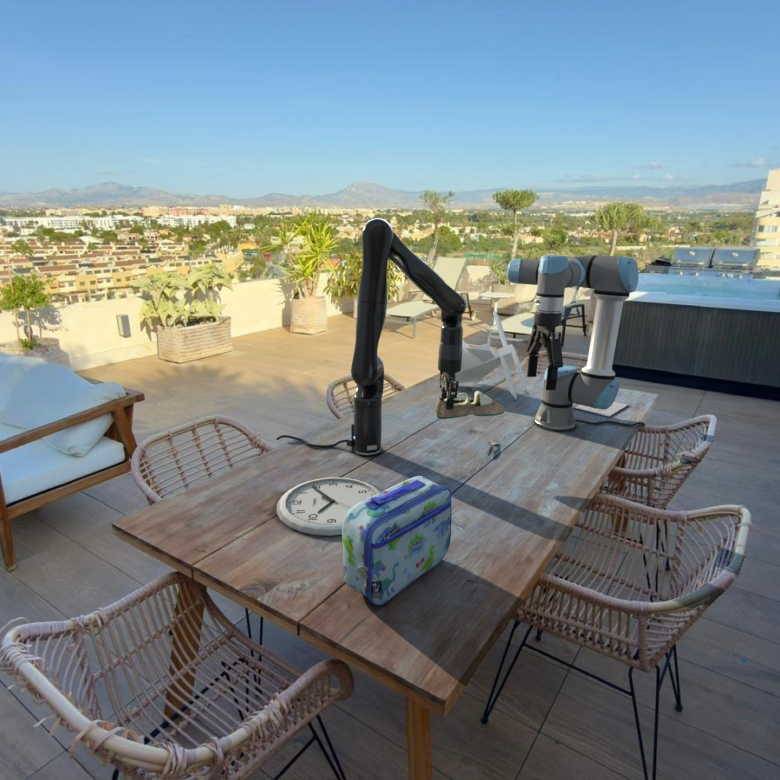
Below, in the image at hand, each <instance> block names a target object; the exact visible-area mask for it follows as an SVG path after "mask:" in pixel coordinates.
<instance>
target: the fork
mask: <svg viewBox="0 0 780 780" xmlns="http://www.w3.org/2000/svg"><path fill="white" fill-rule="evenodd" d="M499 440H500V436H492V437H491V440H490V445H491V446H490V447H489V449H488V452H487V453H488V454H487V456H490V455H491V453H492V452H493V450H494V446H495V445H498V444H499Z"/></svg>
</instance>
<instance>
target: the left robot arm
mask: <svg viewBox="0 0 780 780" xmlns="http://www.w3.org/2000/svg"><path fill="white" fill-rule="evenodd" d="M361 244H362V268H361V274H360V279H359V284H358V285H359V286H358V292H357V301H356V320H355V341H354V343H355V344H354V350H353V356H352V361H351V367H350V376H351V378H352V380H353V382H354V383H355V384H356V389H355V391H354V394H353V423H352V424H351V428H350V431H351V433H350V435H351V436H350V437H348V438H347V439H341V440H338V441H336V442H335V443H332V444H315V443H314V444H312V443H310V442H308V441H306V440H305V439H303V438H301V437H296V436H293V435H289V434H283V435H282V434H281V435H280V436H278V437H276V439H275V441H279V440H281V439H283V438H286V439H292V440H295V441H299V442H302V443H303V444H305V445H306V446H308V447H312V448H320V449H324V448H333V447H336V446H338V445H340V444H342V443H346V446H347V447H351V451H352V452H353V453H354V454H356V455H359V456H361V457H362V456H363V457H374V456H377V455H379V454H381V453H382V412H383V411H382V409H383V406H382V404H383V403H382V402H383V400H382V399H383V395H384V387H385V366H384V363H383V360H382V359H381V357H380V356H378V349H379V344H380V343H379V342H380V338H381V336H382V332H383V329H384V326H385V322H386V317H387V309H388V308H387V307H388V293H389V291H388V289H389V288H388V286H389V285H388V264H389V260H390V262H392V263H393V264H394V265H395V266H396V267H397V268H398V269H399V270H400V271H401V272H402V273H403V274H404V276H405V277H407V279H408V280H410V281H411V283H412V284H413V285H415V287H416V288H418V289H419V290H420V291H421V292H422V293H423V294H424V295H425V296H426V297H428V298H429V299H431V300H432V301H433V302H434V304H435V305H436V306H438V308H439V309H440V318H441V319H440V320H441V325H440V335H439V336H440V337H439V339H440V340H439V346H438V358H437V370H438V372H439V371H440V372H439V389H440V392H441V397H440V398H444V399H446V398H447V403H446V408H447V409H453V406H454V400H455V399H458V398H457V393H459V392H458V391H459V384H460V383H459V382H458V381H456V377H455V373H457V372H460V371H461V364H462V339H463V337H464V329H463V315H464V313H465V312H466V310H467V303H466V300H465V298H464V297H463V296H462V295H461V294H459V293H458V292H457V291H456V290H454V289H453V288H452V287H451V286H450V285H449V284H447V282H446V281H445V280H444V279H443V277H441V276H440V275H439V274H438V273H437V272H436V271H435V270H434V269H433V268H432V267H430V266H429V264H427V263H426V262H424V261H423V259H421V258H420V257H419V256H417V255H416V253H414V252H413V251H411V249H410V248H408V247H407V245H406V244H404V243H403V241H402V240H401V239H400V237H399V236H398V235H397V234H396V232H395V231H394V230H393V227H392V226H391V224H390V223H389V222H388V221H387V220H386V219H383V218H373V219H370V220H368V221H367V222H366V223H365V224H364V226H363V227H362V230H361ZM463 340H464V339H463ZM454 398H455V399H454Z"/></svg>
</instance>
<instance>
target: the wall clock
mask: <svg viewBox="0 0 780 780" xmlns="http://www.w3.org/2000/svg"><path fill="white" fill-rule="evenodd" d="M380 492H382V491H381V490H380V489H379V488H377V487H376V486H374V485H372V484H371V483H369V482H365V481H362V480H359V479H355V478H349V477H338V476H337V477H335V476H333V477H332V476H331V477H322V478H317V479H312V480H307V481H305V482H302V483H299V484H297V485H295V486H293V487H292V488H290V489H288V490H287V491H286V492H285V493H284V494H283V495H281V496H280V498H279V499H278V502H277V503H276V515H277V517H278V518H279V520H280V521H281V522H282V523H283V524H285V525H286V526H287V527H288V528H290V529H293V530H295V531H297V532H299V533H303V534H308V535H312V536H327V537H328V536H329V537H331V536H332V537H333V536H342V525H343V521H344V518H345V516H346V514H347V512H348V511H349V510H350V509H351V508H352V507H353V506H354V505H356V504H358V503H360V502H362V501H364V500H366V499H368V498H370V497H372V496H374V495H376V494H378V493H380Z"/></svg>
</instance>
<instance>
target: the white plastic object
mask: <svg viewBox="0 0 780 780" xmlns="http://www.w3.org/2000/svg"><path fill="white" fill-rule="evenodd" d="M492 315H493V319H494V321H495V324H496V325H495V326H496V328H497V332H498V335H499V338H500V342H501V345H502V347H500V348H498V349H496V350H495V349H493V348H492V347H491V346H490V344H489V343H488V342H487V343H483V344H479V345H473V346H469V345H468V343H466V342H465V340H464V339H462V364H461V371H460V372H457V373H455V377H456V381H458V382H459V384H467V383H468V384H469V383H473V384H477V383H480V382H482V381H484V378H485V377H486V376H487V375H489V374H490V373H492V372H494V371H495V370H496V369H497V368H499V367H500V366H502V370H503V373H504V376H505V380H506V383H507V386H508V390H509V393H510V394H511V395H512V397H513V398H514V399H515V400H517V392H516V391H517V390H516V388H515V385H514V381H513V378H512V375H511V371H510V369H509V365H508V361H510V360H513V363H514V366H515V369H516V372H517V376H518V380H519V382H520V385H521V389H522V391H523V393H524V395H525V396H526V397H528V396H531V395H530V390H529V388H528V387H529V386H528V384H527V381H526V378H525V375H524V371H523V369H522V368H523V367H522V366H521V362H520V359H519V355H518V352H517V349H516V347H515V346H514V345H513V343H511V344H508V341H507V337H506V334H505V331H504V328H503V325H502V321H501V318H500V315H499V314H498V312H497V311H496V310H495V311H492ZM438 372H439V373H440V371H439V370H438Z"/></svg>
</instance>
